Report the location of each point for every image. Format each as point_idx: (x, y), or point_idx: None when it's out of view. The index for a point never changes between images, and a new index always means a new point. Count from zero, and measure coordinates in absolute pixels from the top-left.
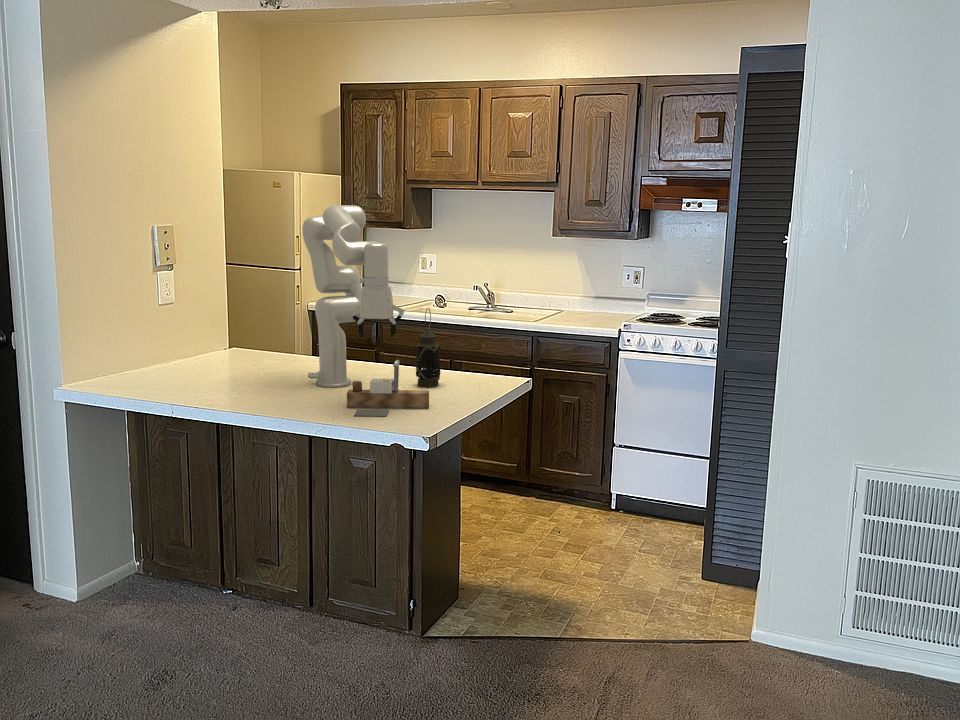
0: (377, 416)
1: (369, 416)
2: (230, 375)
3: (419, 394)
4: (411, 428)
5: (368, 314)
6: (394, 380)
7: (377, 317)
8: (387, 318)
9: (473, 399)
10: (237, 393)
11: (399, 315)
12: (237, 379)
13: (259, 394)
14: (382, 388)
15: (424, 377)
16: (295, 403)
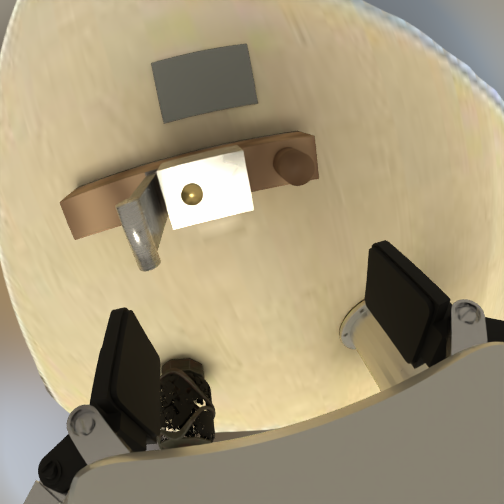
0: (176, 56)
1: (200, 52)
2: (483, 300)
3: (81, 192)
4: (63, 6)
5: (465, 416)
6: (148, 183)
7: (288, 444)
8: (117, 455)
9: (42, 302)
10: (487, 210)
11: (54, 493)
12: (481, 286)
13: (467, 212)
14: (192, 157)
15: (179, 373)
16: (416, 154)
